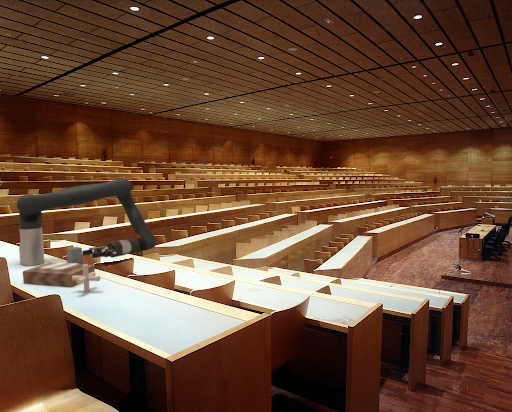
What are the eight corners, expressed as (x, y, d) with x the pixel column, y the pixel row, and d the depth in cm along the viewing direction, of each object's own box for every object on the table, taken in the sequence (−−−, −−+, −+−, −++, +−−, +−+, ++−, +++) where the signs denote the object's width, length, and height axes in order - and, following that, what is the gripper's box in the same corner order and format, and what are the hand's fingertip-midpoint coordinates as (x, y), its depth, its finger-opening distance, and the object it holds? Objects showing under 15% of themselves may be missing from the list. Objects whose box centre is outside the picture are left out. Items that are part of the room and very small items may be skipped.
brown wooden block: (23, 283, 149) (22, 268, 148) (50, 273, 162) (49, 260, 162) (71, 287, 144) (70, 271, 143) (94, 276, 157) (94, 262, 157)
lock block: (67, 270, 167) (66, 248, 166) (77, 268, 171) (76, 246, 170) (73, 272, 164) (71, 249, 163) (83, 269, 168) (81, 248, 167)
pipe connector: (106, 287, 143) (105, 261, 142) (92, 296, 133) (91, 268, 132) (81, 286, 144) (80, 261, 143) (66, 295, 134) (64, 268, 133)
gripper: (110, 239, 188) (79, 244, 176) (127, 242, 180) (95, 248, 167) (111, 253, 189) (79, 260, 176) (128, 257, 181) (96, 264, 168)
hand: (87, 254), depth 172 cm, fingers open, 8 cm apart
